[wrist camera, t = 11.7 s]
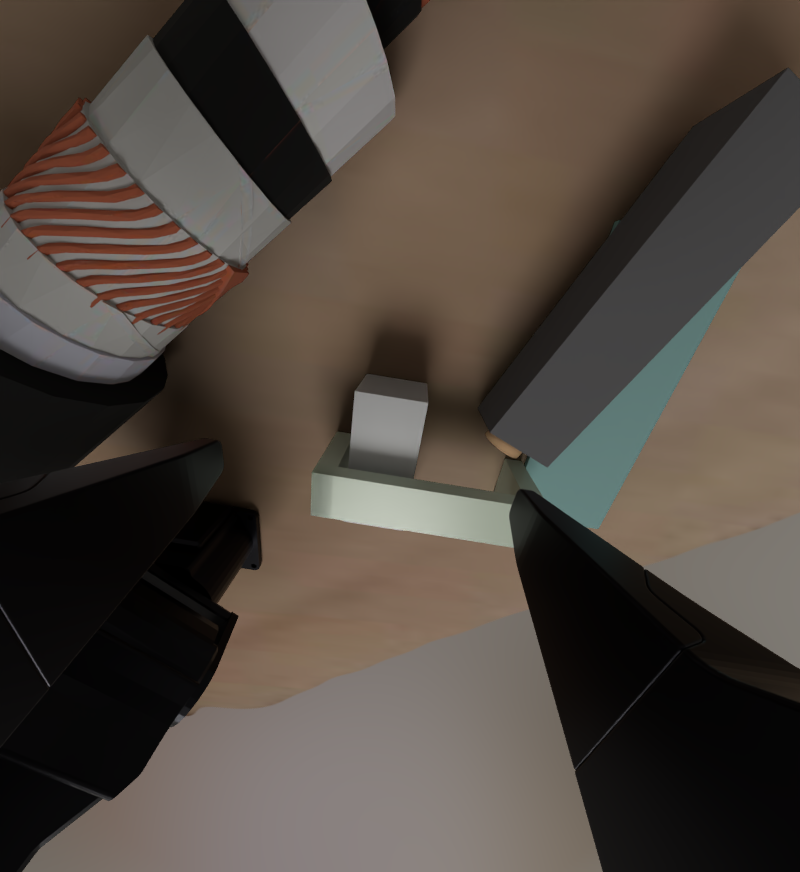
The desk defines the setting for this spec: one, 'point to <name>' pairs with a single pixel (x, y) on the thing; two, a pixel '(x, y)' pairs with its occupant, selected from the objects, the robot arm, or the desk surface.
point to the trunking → (387, 426)
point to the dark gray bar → (654, 270)
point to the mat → (620, 429)
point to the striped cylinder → (171, 202)
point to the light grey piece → (415, 499)
